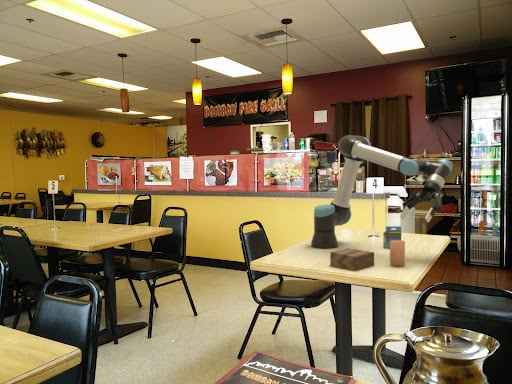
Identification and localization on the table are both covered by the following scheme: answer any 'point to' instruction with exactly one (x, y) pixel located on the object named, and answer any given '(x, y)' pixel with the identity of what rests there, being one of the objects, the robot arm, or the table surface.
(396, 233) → the label tape box
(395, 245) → the terracotta canister
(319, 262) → the table surface
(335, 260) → the walnut block
